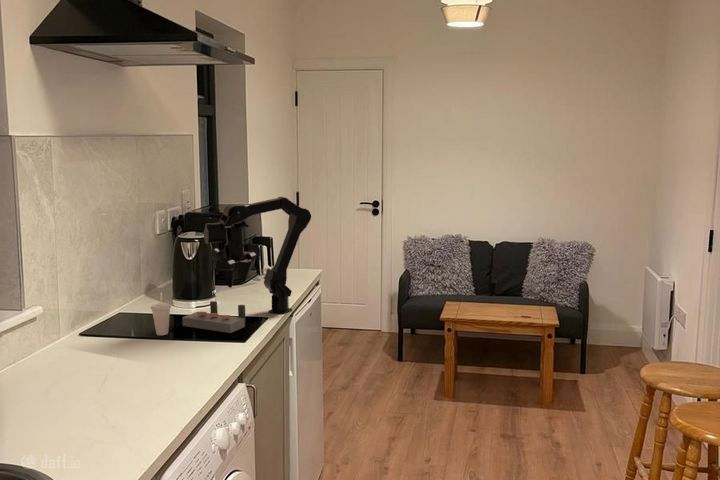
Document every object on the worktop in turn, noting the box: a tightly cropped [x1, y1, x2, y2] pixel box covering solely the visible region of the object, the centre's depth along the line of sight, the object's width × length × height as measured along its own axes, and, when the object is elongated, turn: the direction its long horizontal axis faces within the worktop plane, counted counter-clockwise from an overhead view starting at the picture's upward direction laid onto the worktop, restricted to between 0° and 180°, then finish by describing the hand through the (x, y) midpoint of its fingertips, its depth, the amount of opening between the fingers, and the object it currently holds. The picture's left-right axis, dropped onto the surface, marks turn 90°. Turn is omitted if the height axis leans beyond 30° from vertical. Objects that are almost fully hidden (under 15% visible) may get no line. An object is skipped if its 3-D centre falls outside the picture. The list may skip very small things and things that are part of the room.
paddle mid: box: [208, 312, 219, 317], centre depth 241 cm, size 3×2×1 cm
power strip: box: [182, 311, 246, 334], centre depth 241 cm, size 8×20×3 cm, turn 63°
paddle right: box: [220, 314, 231, 319], centre depth 239 cm, size 3×2×1 cm
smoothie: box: [150, 291, 172, 336], centre depth 233 cm, size 6×6×14 cm
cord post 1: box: [209, 300, 219, 315], centre depth 251 cm, size 2×2×6 cm
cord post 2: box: [237, 304, 247, 324], centre depth 246 cm, size 2×2×6 cm
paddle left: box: [196, 310, 208, 316], centre depth 243 cm, size 3×2×1 cm
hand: (237, 284), depth 251 cm, fingers open, 9 cm apart
